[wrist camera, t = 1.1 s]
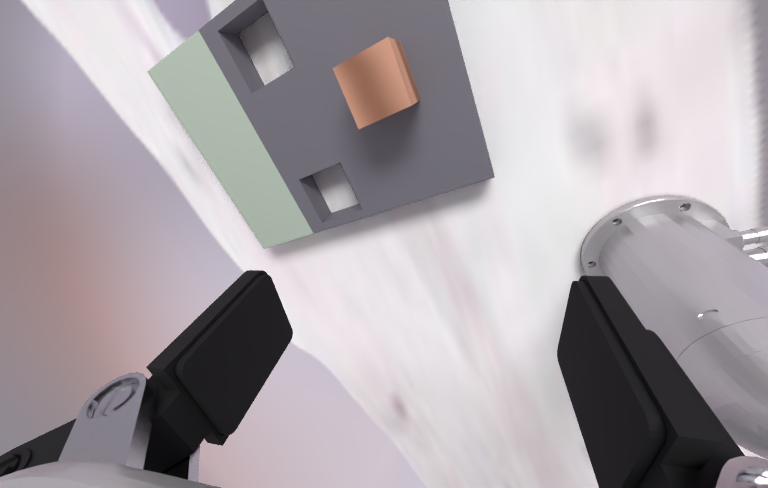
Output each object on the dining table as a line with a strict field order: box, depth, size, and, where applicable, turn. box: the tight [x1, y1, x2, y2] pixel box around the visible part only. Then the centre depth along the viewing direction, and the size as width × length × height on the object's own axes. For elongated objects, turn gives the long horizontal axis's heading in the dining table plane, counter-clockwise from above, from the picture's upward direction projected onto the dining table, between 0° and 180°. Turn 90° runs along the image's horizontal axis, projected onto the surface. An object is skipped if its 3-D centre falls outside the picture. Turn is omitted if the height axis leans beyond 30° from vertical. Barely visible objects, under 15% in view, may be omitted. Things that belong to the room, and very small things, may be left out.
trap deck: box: [148, 0, 494, 249], centre depth 33 cm, size 32×24×3 cm
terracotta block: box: [333, 37, 420, 129], centre depth 26 cm, size 5×5×5 cm
